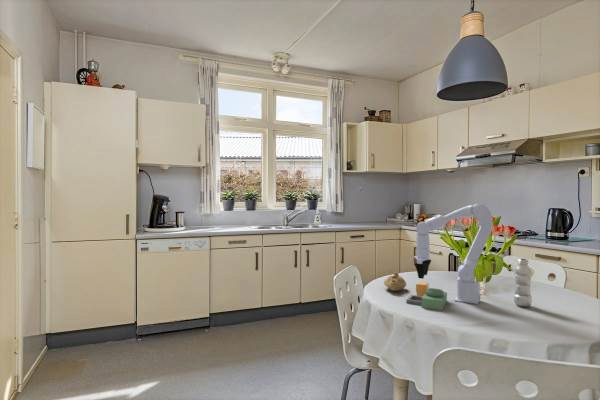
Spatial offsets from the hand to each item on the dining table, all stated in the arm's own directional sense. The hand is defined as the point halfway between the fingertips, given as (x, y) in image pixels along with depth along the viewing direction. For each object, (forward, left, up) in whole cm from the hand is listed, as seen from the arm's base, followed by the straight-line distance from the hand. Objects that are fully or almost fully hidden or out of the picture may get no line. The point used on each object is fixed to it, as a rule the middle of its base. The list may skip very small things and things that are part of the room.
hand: (422, 276), depth 168 cm
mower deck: (-4, +10, -9) cm, 14 cm away
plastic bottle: (-40, -6, -10) cm, 42 cm away
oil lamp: (+14, -4, -10) cm, 17 cm away
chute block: (0, 0, -9) cm, 9 cm away
